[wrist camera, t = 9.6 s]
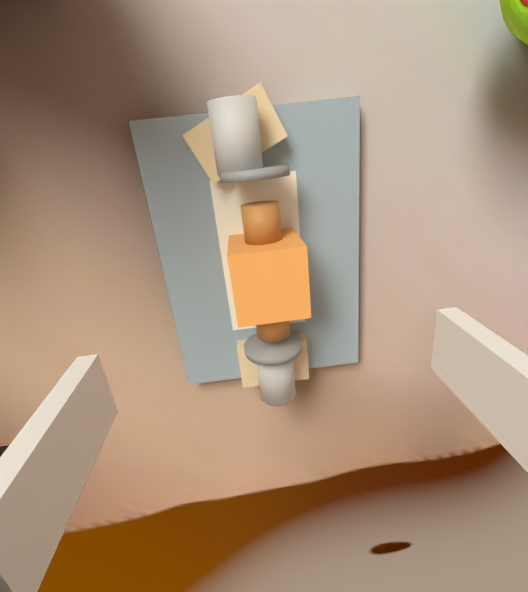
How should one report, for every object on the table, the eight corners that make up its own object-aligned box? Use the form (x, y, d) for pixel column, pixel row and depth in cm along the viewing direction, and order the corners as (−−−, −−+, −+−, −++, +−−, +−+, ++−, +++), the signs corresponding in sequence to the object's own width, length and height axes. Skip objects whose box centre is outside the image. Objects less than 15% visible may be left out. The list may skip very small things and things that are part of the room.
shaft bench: (191, 375, 33) (180, 426, 27) (130, 103, 24) (93, 85, 18) (353, 353, 34) (380, 399, 27) (352, 80, 25) (393, 54, 18)
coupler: (241, 320, 29) (242, 358, 24) (223, 202, 26) (220, 215, 20) (298, 313, 30) (313, 349, 24) (289, 194, 26) (304, 205, 20)
